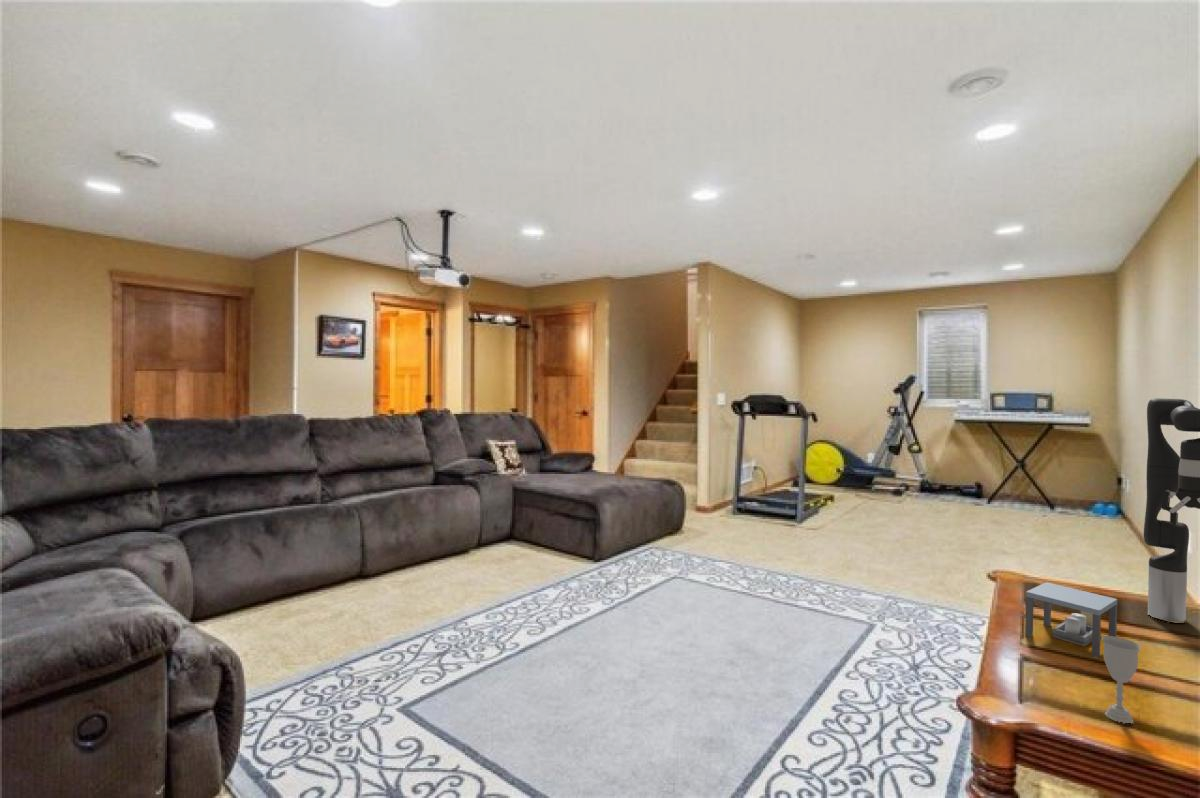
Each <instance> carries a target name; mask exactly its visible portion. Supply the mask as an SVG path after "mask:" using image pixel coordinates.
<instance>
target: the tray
mask: <svg viewBox="0 0 1200 798" xmlns="http://www.w3.org/2000/svg"><path fill="white" fill-rule="evenodd" d="M1070 615H1071V616H1066V617H1064V621H1063V622H1061V623H1059V624H1058V625H1056V626H1055V627H1053V628H1052V637H1053V638H1056V639H1059V640H1063V641H1066V642H1069V643H1072V644H1076V645H1079V646H1082V647H1086V646H1087V645H1088V644H1090V643H1092V619H1093V614H1091V613H1088V612H1084V611H1080V613H1076V612H1074V613H1073V612H1071V614H1070Z"/></svg>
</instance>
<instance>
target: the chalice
mask: <svg viewBox="0 0 1200 798" xmlns="http://www.w3.org/2000/svg"><path fill="white" fill-rule="evenodd" d="M1101 640H1102V642H1103V659H1104V660H1103V661H1104V663H1105V665H1106V669H1107V671H1108V672H1109V674H1110V676H1111V678H1112V679H1113V680H1114V681H1116V687H1115V690H1116V694H1115V695H1114V697H1115V699H1116V702H1115V704H1111V705H1109V707H1108V708H1107V709H1106V711H1105V712H1104V715H1105V716H1106V717H1107V718H1108V719H1110V720H1112V721H1115V722H1117V721H1118V723H1120V722H1123V723H1122V724H1125V723H1131V724H1134V719H1133V718H1132V716H1131V714H1130V713H1131V712H1130V711H1129V710H1128V709H1127V708H1126V707H1124V705H1123V701H1124V700H1125V698H1124V696H1123V693H1124V692H1125V690H1124V688H1123V684H1126V683H1129V681H1130V680H1131V679H1132V677H1133V676H1134V675H1135V673H1136V672H1137V669H1138V666H1139V665H1138V659H1139V651H1140V649H1141V648H1142V647H1141V645H1140V644H1138V643H1136V642H1134V641H1132V640H1130V639H1127V638H1123V637H1119V636H1116V637H1114V636H1108V635H1105V636H1102V637H1101ZM1131 724H1130V725H1131Z"/></svg>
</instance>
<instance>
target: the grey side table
mask: <svg viewBox="0 0 1200 798" xmlns="http://www.w3.org/2000/svg"><path fill="white" fill-rule="evenodd" d="M1034 599H1035V600H1038V601H1042V602H1043V623H1042V624H1043V626H1044V627H1050V626H1051V625H1052V604H1053V605H1054V604H1055V605H1057V606H1061V607H1066V608H1069V609H1072V610H1073V609H1074V610H1077V611H1080V612H1081V611H1084V612H1088V613H1091V614H1093V619H1092V642H1091V657H1093V658H1096V659H1099V658H1100V657H1101V635H1102V634H1101V631H1102V629H1101V626H1102V625H1101V624H1102V614H1104V613H1106V612H1108V635H1107V636H1114V637H1117V630H1118V628H1117V626H1118V624H1117V623H1118V622H1117V621H1118V599H1117V598H1114V597H1110V596H1106V595H1101V594H1097V593H1093V592H1088V591H1086V590H1085V591H1084V590H1081V589H1076V588H1072V587H1067V586H1064V585H1059V584H1055V583H1052V582H1047V581H1046V582H1044V583H1041V584H1040V585H1037V586H1035V587H1032V588H1031V589H1029V590H1027V591H1026V592H1025V624H1024V625H1025V626H1024V627H1025V628H1024V629H1025V632H1024V635H1025V637H1028V638H1032V637H1033V636H1034V601H1035V600H1034Z"/></svg>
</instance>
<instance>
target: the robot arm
mask: <svg viewBox="0 0 1200 798" xmlns="http://www.w3.org/2000/svg"><path fill="white" fill-rule="evenodd" d="M1146 420H1147V421H1146V425H1147V426H1146V427H1147V442H1148V443H1147V457H1146V503H1145V504H1146V505H1145V515H1144V524H1143V540H1144V543H1145V544H1146V545H1147V546H1150V547H1153V548H1154V547H1156V548H1163V549H1167V550H1168V549H1169V550H1173V552H1170V553H1168V554H1167V553H1166V554H1163V555H1154V556H1150V557H1149V559H1148V581H1147V582H1148V583H1147V587H1148V588H1147V589H1148V590H1147V616H1148V615H1150V616H1152V617H1155V618H1159V619H1163V620H1168V621H1184V620H1186V617H1187V615H1186V614H1187V591H1188V590H1187V588H1188V587H1187V585H1188V581H1187V580H1188V579H1187V578H1188V550H1189V542H1190V541H1189V539H1190V529H1189V527H1188V525H1187V524H1186V523H1184V522H1178V521H1179V513H1178V511H1180V510H1181V509H1182V508H1183V507H1186V508H1189V509H1193V508H1194V509H1197V510H1200V437H1198V438H1191V439H1185V440H1182V441H1181V442H1180V447H1179V448H1180V450H1179V451H1180V452H1179V453H1180V454H1178V453H1177V451H1176V450H1174V448H1173V447H1172V446H1171V445H1170V443H1169V442H1168V441H1167V438H1166V437H1165V435H1164V433H1163V430H1162V426H1174V428H1175V429H1176V430H1177V431H1180V432H1192V433H1193V432H1194V433H1200V408H1198V407H1196V406H1194V404H1193V403H1192V402H1191V401H1189V400H1186V399H1182V398H1180V399H1179V398H1162V397H1161V398H1156V397H1155V398H1151V399H1150V400H1149V401H1148V403H1147V408H1146ZM1174 496H1175V497H1176V498H1177V499H1178V500H1179V502H1177V504H1175V505H1174V506H1170V503H1171V499H1172V498H1174ZM1161 510H1163V511H1167V512H1169V516H1170V517H1169V520H1162V519H1161V520H1160V519H1158V515H1159V513H1160V512H1161ZM1150 616H1149V617H1150ZM1152 617H1151V618H1152ZM1186 621H1187V620H1186Z"/></svg>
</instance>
